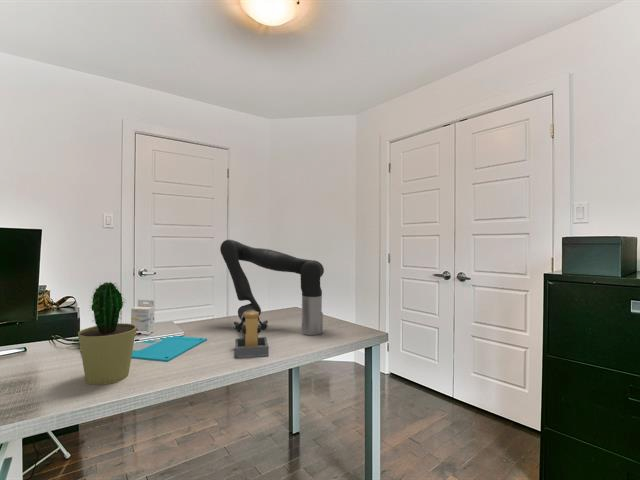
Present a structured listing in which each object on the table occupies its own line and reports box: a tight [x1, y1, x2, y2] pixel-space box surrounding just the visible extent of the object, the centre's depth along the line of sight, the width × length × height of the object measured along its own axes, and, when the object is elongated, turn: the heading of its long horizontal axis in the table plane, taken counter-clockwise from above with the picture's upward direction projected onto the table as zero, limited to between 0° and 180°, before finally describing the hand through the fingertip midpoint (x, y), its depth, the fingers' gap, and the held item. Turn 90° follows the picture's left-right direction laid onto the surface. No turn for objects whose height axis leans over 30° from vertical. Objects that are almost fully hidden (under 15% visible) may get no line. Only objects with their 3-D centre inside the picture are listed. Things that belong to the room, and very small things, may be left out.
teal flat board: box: [131, 335, 208, 362], centre depth 134 cm, size 26×28×1 cm
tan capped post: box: [244, 311, 260, 347], centre depth 129 cm, size 5×5×13 cm
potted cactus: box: [77, 281, 137, 386], centre depth 104 cm, size 15×15×30 cm
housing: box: [234, 336, 270, 359], centre depth 129 cm, size 12×12×4 cm
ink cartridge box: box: [130, 299, 156, 332], centre depth 152 cm, size 9×5×15 cm, turn 84°
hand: (251, 330), depth 127 cm, fingers closed on tan capped post, 4 cm apart
